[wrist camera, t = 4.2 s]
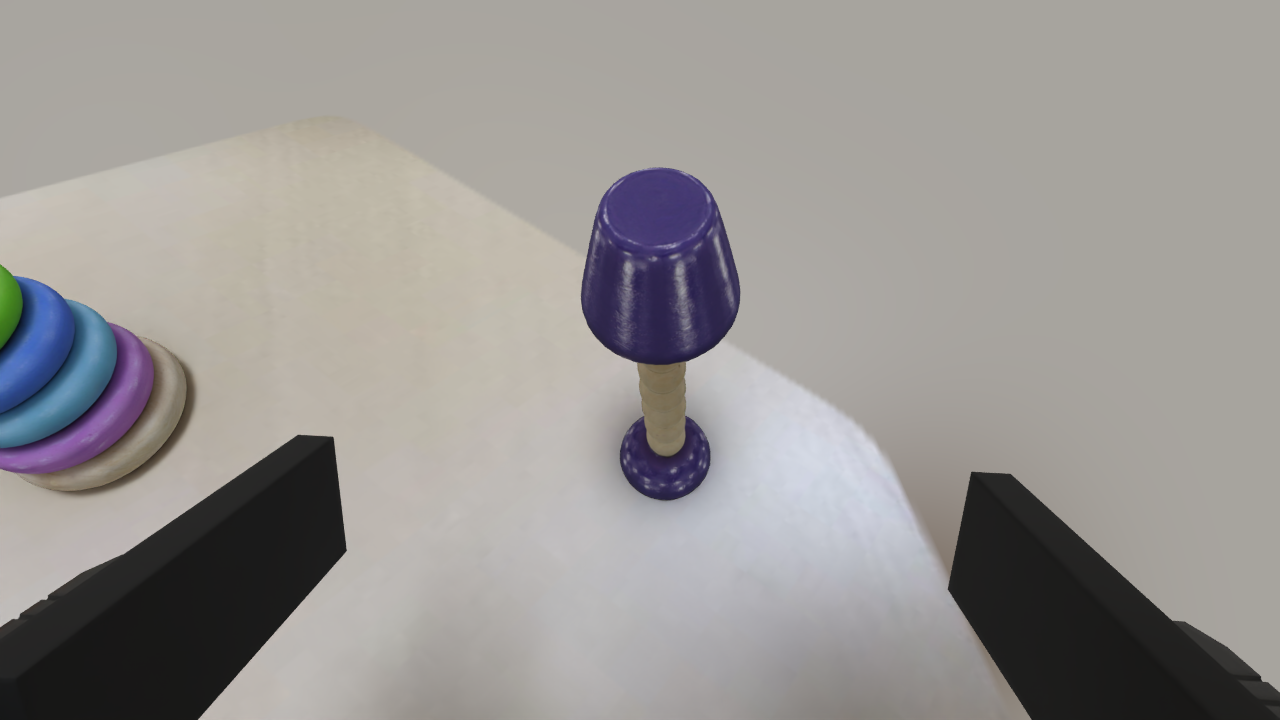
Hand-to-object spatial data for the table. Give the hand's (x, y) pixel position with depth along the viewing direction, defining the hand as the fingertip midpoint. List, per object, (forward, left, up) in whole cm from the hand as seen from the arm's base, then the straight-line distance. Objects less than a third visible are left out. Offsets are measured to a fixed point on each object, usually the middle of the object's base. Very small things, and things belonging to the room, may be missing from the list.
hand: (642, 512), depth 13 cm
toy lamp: (-2, -7, -15) cm, 17 cm away
